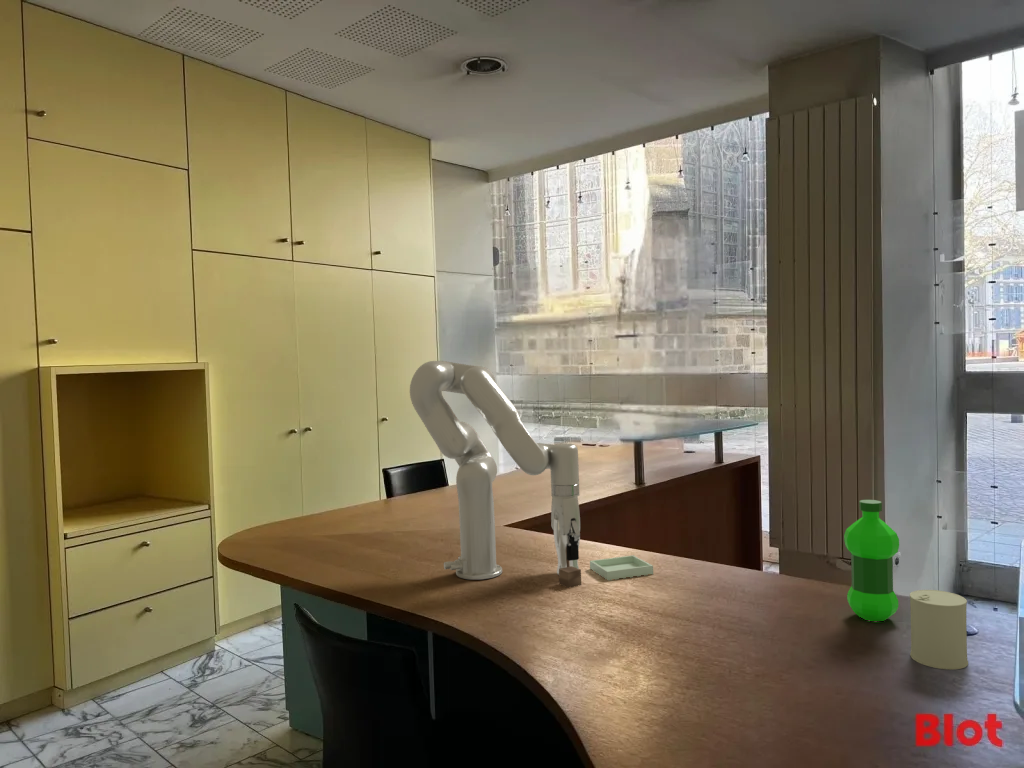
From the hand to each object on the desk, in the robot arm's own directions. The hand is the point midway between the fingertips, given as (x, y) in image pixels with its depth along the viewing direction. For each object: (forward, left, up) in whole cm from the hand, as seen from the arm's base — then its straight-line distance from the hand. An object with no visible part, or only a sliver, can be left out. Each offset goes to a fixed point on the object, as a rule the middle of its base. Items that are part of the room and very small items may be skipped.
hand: (567, 556), depth 197 cm
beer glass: (0, 0, -5) cm, 5 cm away
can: (+42, -78, -5) cm, 89 cm away
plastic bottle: (+47, -57, -5) cm, 74 cm away
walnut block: (-3, -9, -5) cm, 11 cm away
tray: (+13, -4, -5) cm, 15 cm away
